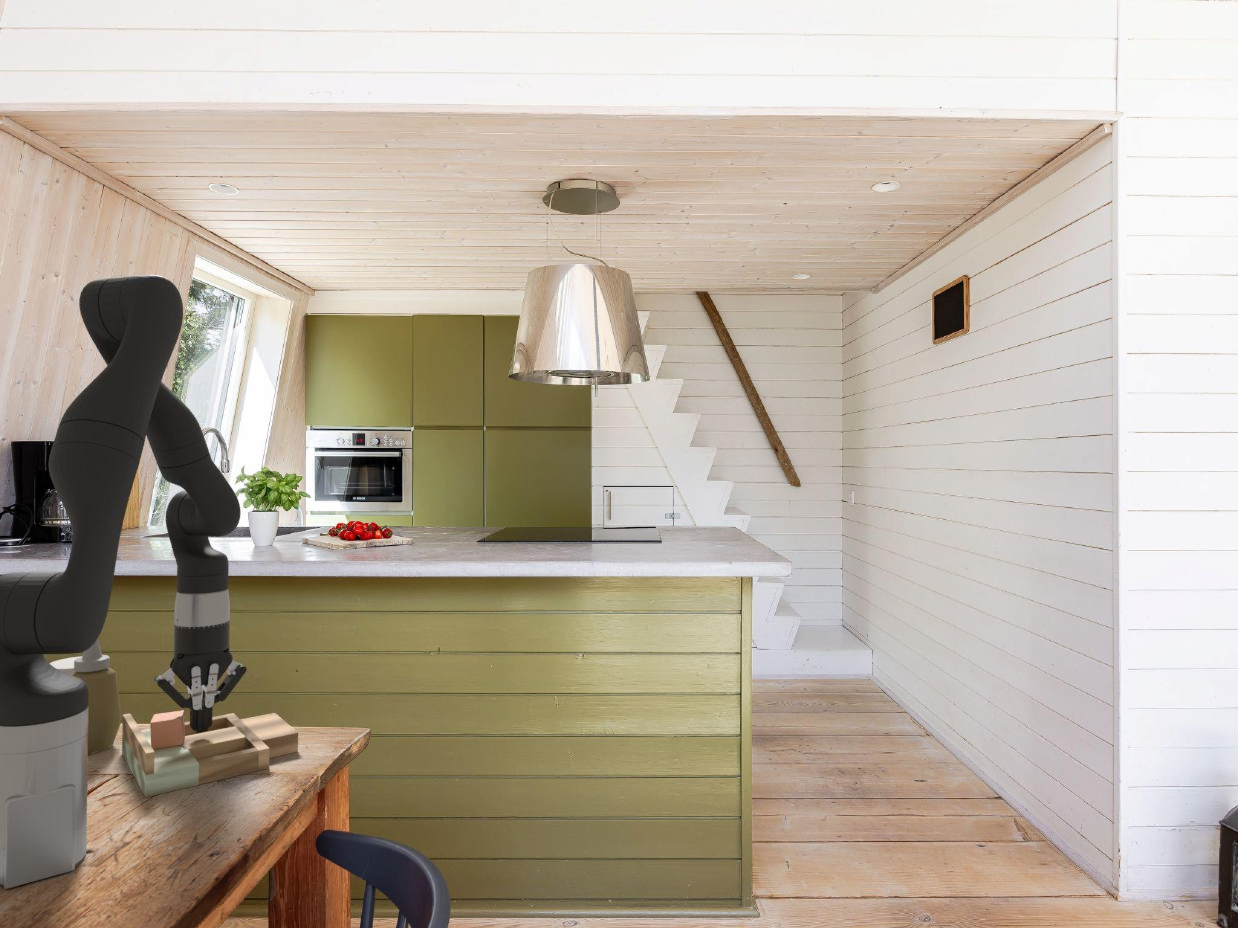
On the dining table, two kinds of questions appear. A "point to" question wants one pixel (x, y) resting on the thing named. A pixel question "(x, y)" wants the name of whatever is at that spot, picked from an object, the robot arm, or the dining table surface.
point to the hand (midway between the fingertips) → (201, 730)
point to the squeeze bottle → (99, 697)
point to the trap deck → (206, 751)
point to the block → (167, 729)
